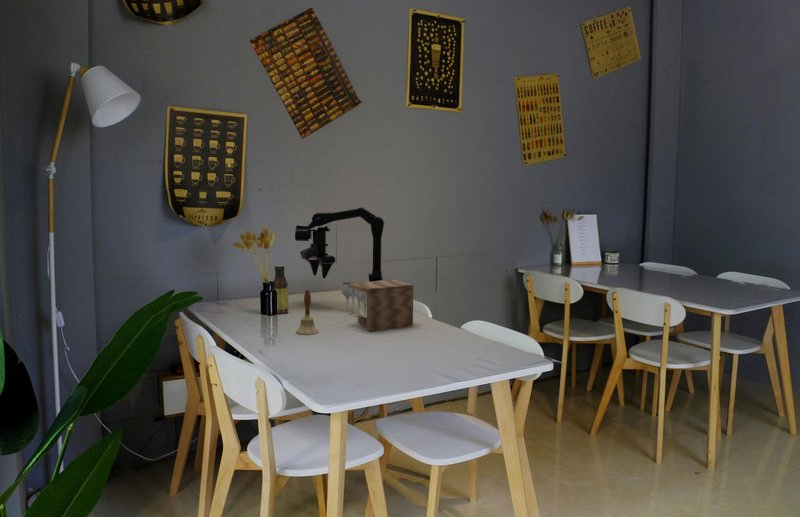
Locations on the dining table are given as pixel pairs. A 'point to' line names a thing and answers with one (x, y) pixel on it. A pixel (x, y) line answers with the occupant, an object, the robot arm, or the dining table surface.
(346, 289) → the goblet set
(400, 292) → the walnut cubby
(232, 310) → the dining table surface
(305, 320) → the hand bell
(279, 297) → the sauce bottle
